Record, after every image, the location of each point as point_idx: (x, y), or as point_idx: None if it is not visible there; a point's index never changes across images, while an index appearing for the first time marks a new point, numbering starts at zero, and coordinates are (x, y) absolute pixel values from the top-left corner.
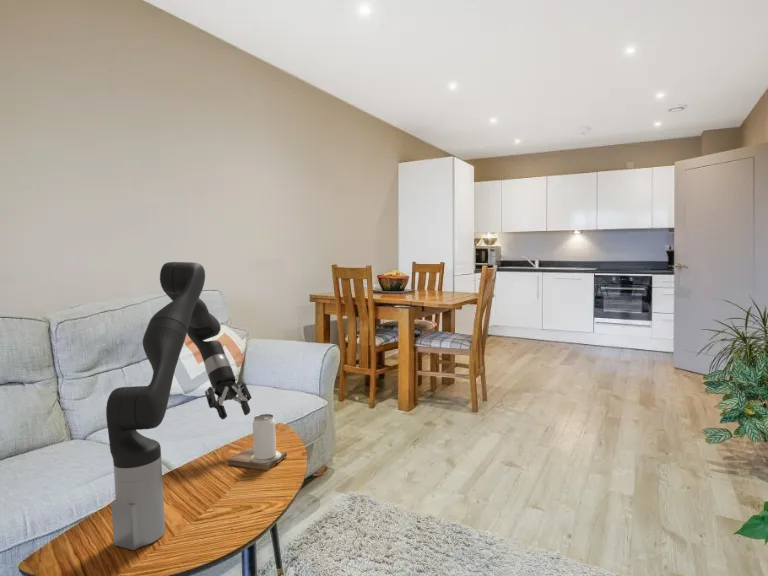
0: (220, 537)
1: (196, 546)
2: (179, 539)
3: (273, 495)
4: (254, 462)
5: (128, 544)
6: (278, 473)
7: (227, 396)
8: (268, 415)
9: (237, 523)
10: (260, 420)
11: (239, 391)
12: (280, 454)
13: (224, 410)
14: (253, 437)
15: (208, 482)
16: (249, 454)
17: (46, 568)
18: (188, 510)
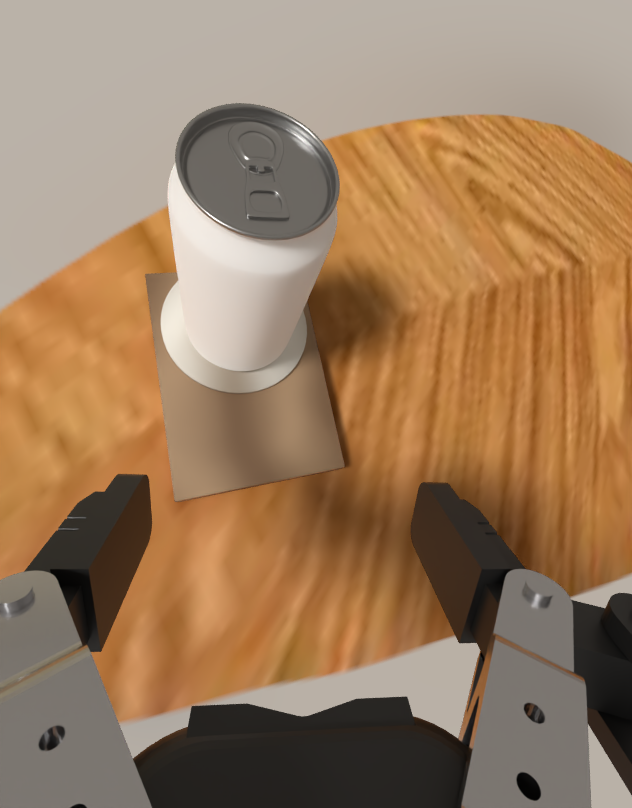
0: (570, 170)
1: (610, 191)
2: (624, 237)
3: (401, 165)
4: (306, 331)
5: None
6: None
7: (400, 730)
8: (183, 177)
9: (526, 170)
10: (327, 154)
11: (6, 800)
12: None
13: (459, 518)
14: (305, 301)
15: (468, 403)
16: (251, 420)
17: None
18: (574, 314)
